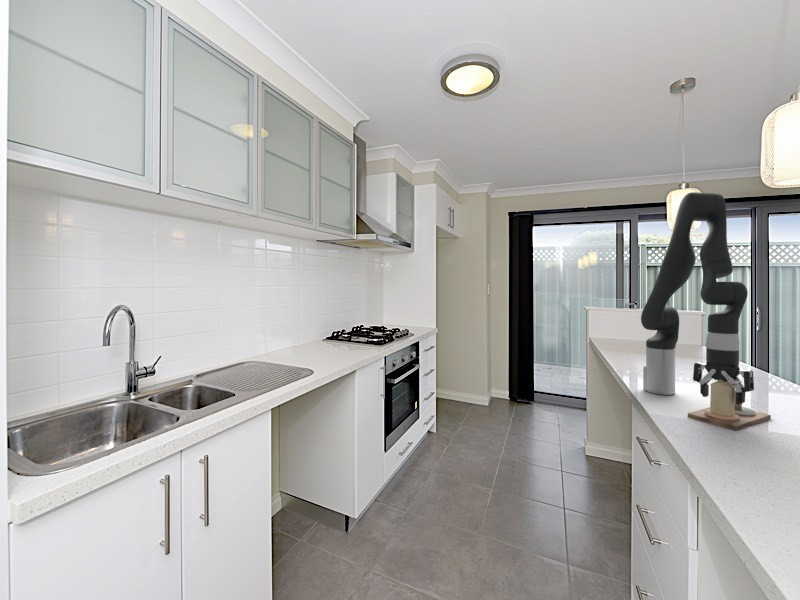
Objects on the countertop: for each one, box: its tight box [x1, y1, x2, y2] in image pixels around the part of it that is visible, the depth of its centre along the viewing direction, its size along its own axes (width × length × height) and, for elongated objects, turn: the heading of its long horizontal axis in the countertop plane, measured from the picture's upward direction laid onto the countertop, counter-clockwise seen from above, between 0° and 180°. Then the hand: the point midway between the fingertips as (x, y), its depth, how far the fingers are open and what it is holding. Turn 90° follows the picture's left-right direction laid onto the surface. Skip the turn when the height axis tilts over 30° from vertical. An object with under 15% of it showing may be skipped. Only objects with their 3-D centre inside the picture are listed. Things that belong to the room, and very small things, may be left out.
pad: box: [705, 409, 739, 421], centre depth 111 cm, size 8×8×1 cm
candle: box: [709, 380, 735, 417], centre depth 111 cm, size 6×6×10 cm
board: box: [687, 389, 772, 431], centre depth 113 cm, size 12×20×8 cm, turn 114°
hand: (721, 400), depth 111 cm, fingers open, 8 cm apart
